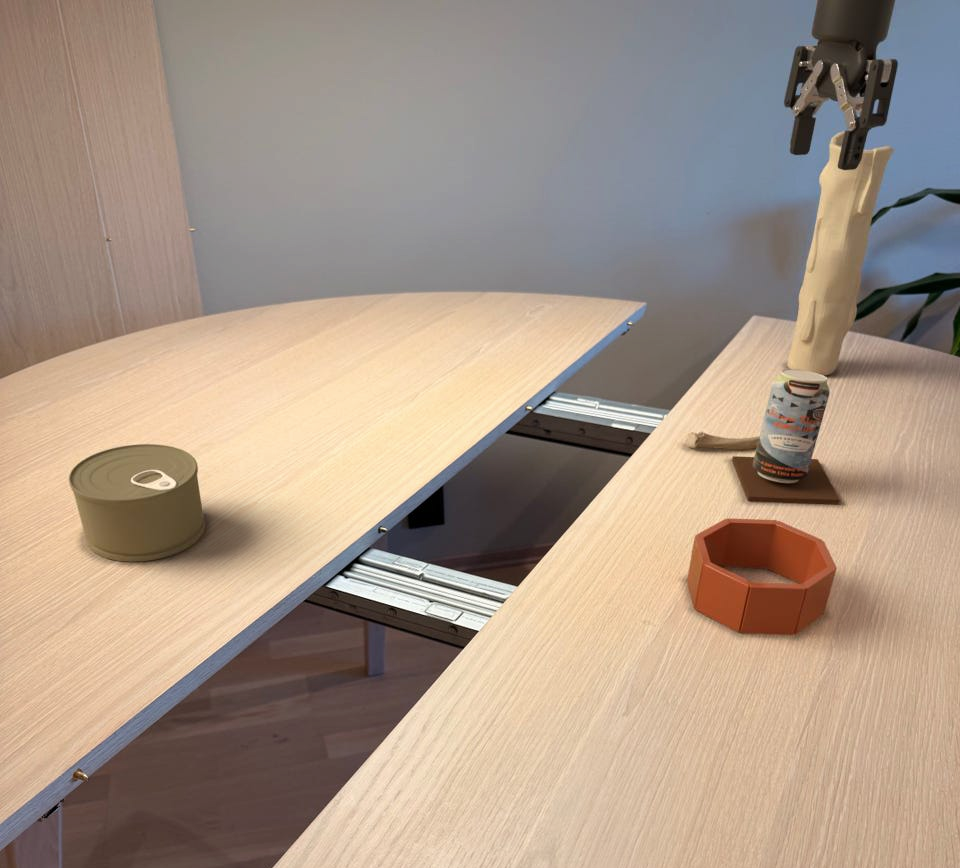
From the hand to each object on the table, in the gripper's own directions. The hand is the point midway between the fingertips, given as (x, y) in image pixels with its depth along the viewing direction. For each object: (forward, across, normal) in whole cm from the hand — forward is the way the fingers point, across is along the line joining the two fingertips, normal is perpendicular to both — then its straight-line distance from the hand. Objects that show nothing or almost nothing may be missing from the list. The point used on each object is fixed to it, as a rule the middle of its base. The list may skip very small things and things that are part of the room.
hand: (822, 161), depth 108 cm
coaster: (+30, -16, +9) cm, 35 cm away
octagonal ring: (+30, -35, +26) cm, 53 cm away
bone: (+30, -6, +10) cm, 32 cm away
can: (+30, -4, +78) cm, 83 cm away
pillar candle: (+30, +13, -16) cm, 37 cm away
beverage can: (+30, -15, +9) cm, 35 cm away
